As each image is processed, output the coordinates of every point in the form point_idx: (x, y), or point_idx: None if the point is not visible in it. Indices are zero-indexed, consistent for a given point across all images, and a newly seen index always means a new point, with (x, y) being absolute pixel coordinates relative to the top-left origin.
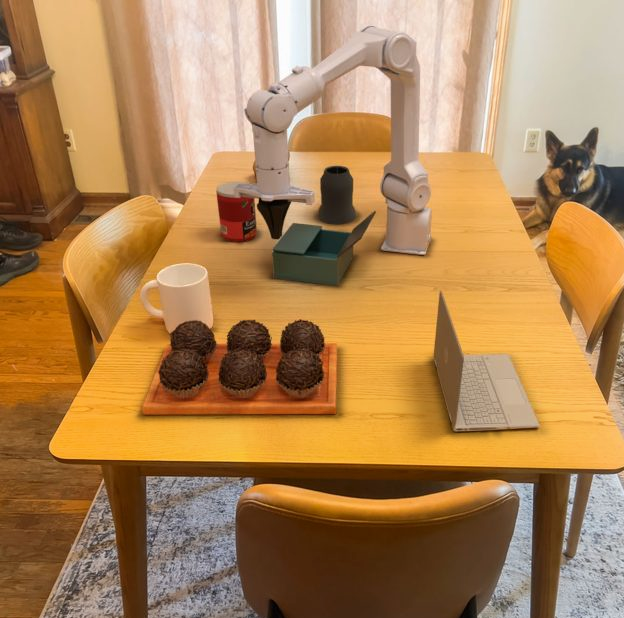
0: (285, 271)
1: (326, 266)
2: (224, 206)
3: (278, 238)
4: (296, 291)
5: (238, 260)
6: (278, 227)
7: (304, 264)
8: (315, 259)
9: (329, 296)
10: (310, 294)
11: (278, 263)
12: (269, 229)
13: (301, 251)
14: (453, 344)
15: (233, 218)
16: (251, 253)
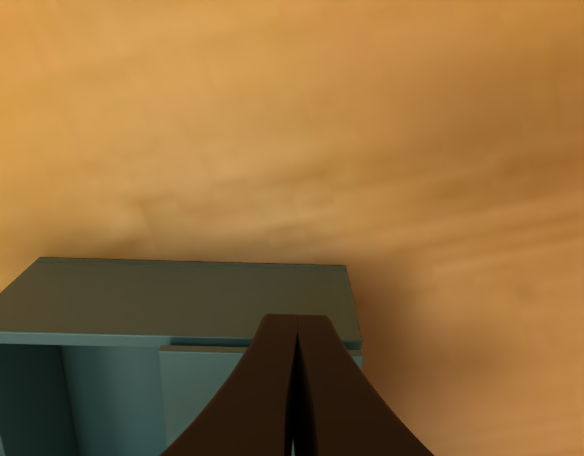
0: (286, 284)
1: (46, 306)
2: None
3: (261, 319)
4: (202, 170)
5: (542, 376)
6: (231, 380)
7: (174, 308)
8: (96, 328)
9: (33, 158)
10: (127, 157)
11: (322, 304)
12: (345, 359)
13: (178, 363)
14: None
15: None
16: (497, 436)
